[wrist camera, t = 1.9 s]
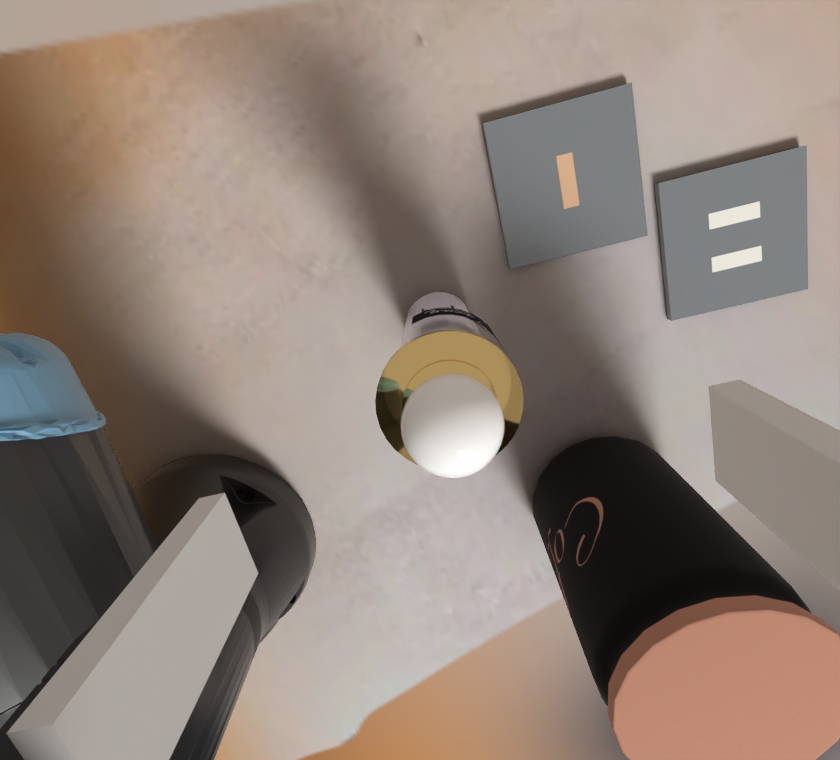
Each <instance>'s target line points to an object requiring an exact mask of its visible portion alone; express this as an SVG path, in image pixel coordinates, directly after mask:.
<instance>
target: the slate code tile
mask: <svg viewBox="0 0 840 760" xmlns="http://www.w3.org/2000/svg"><path fill="white" fill-rule="evenodd" d="M654 186H655V196H656V206H657V217H658V227H659V237H660V248H661V258H662V268H663V279H664V289H665V299H666V310H667V319H669V320H671V321H672V320H676V319H681V318H685V317H689V316H693V315H698V314H702V313H706V312H711V311H715V310H719V309H724V308H728V307H732V306H736V305H741V304H745V303H749V302H754V301H758V300H762V299H766V298H771V297H775V296H779V295H784V294H788V293H792V292H796V291H801V290H805V289H808V251H807V147H806V146H801V147H797V148H793V149H789V150H785V151H781V152H777V153H773V154H770V155H766V156H762V157H758V158H754V159H750V160H746V161H742V162H738V163H734V164H730V165H727V166H723V167H719V168H715V169H711V170H707V171H703V172H699V173H695V174H691V175H688V176H684V177H680V178H676V179H672V180H668V181H664V182H660V183H656V184H654Z"/></svg>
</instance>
